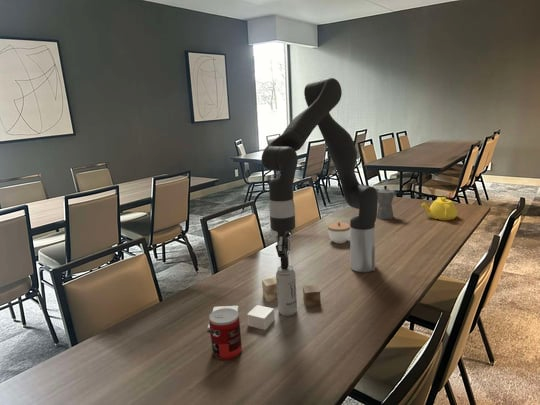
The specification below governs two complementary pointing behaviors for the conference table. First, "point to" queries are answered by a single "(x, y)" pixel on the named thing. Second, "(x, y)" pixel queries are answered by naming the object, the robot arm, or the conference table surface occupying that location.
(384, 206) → the coffeepot
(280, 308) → the energy drink can
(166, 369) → the conference table surface
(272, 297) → the oak block
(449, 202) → the teapot
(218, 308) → the external hard drive
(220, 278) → the conference table surface
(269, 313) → the pale grey block
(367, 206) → the robot arm
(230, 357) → the canned food
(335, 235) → the lidded jar
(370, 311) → the conference table surface
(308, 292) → the walnut block
